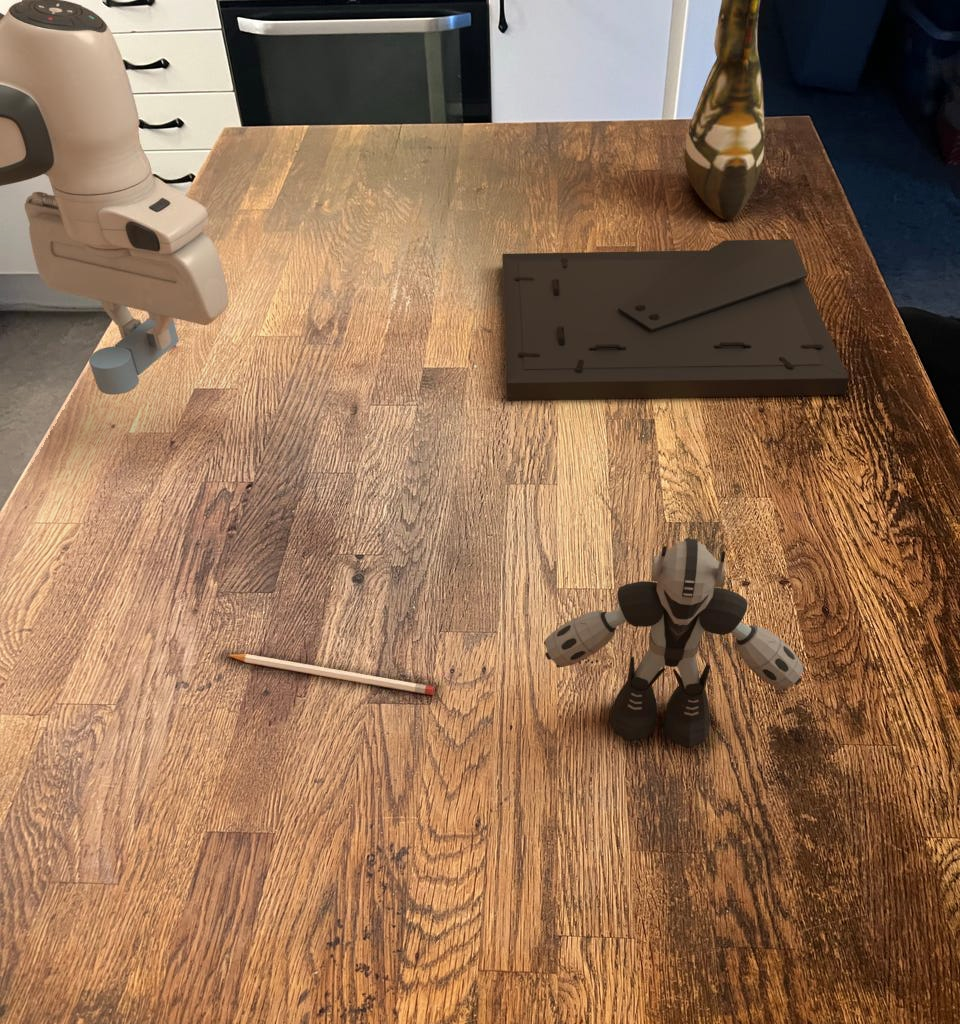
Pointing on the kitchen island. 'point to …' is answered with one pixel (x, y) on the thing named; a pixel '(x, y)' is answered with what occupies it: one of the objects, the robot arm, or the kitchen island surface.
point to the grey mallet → (127, 359)
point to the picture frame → (666, 325)
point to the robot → (675, 642)
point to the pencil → (335, 673)
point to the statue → (729, 116)
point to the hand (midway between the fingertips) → (147, 342)
